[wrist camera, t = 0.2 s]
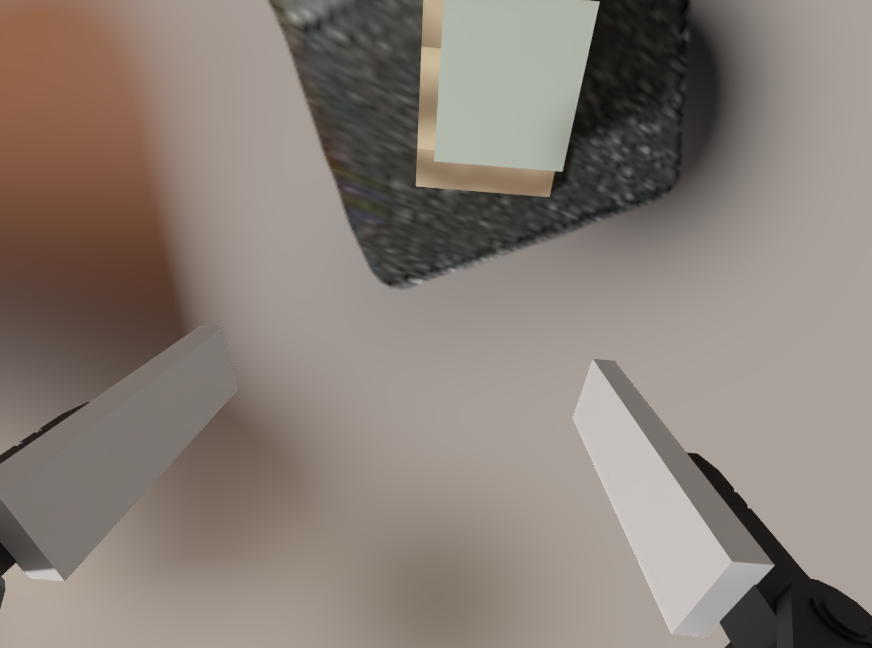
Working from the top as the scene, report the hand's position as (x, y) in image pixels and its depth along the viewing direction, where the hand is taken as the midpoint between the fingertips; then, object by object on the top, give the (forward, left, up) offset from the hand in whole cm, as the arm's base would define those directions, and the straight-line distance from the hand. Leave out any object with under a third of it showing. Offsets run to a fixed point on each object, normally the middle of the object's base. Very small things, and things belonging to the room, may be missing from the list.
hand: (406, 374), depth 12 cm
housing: (-11, +4, -25) cm, 28 cm away
